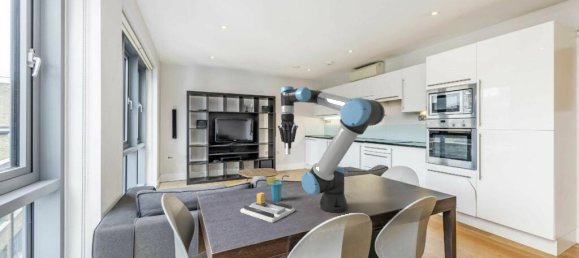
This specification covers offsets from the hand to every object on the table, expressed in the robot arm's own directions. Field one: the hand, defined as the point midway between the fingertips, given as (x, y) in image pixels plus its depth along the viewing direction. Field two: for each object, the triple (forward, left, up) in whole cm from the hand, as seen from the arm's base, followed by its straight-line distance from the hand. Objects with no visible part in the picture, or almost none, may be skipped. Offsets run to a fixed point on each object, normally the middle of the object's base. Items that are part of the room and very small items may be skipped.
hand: (288, 154), depth 136 cm
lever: (+6, +17, -27) cm, 32 cm away
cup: (+8, -1, -29) cm, 30 cm away
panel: (0, +17, -29) cm, 33 cm away
